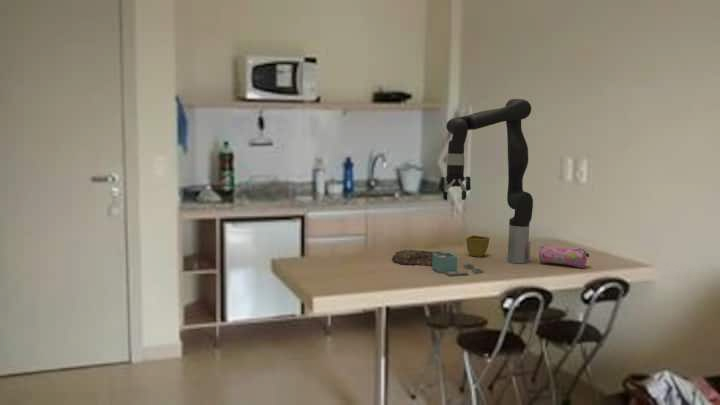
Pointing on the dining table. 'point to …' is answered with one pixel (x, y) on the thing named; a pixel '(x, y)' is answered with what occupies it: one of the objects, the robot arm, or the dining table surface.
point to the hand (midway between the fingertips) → (454, 199)
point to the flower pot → (477, 245)
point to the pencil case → (563, 256)
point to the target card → (456, 273)
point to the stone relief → (414, 257)
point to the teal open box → (444, 262)
